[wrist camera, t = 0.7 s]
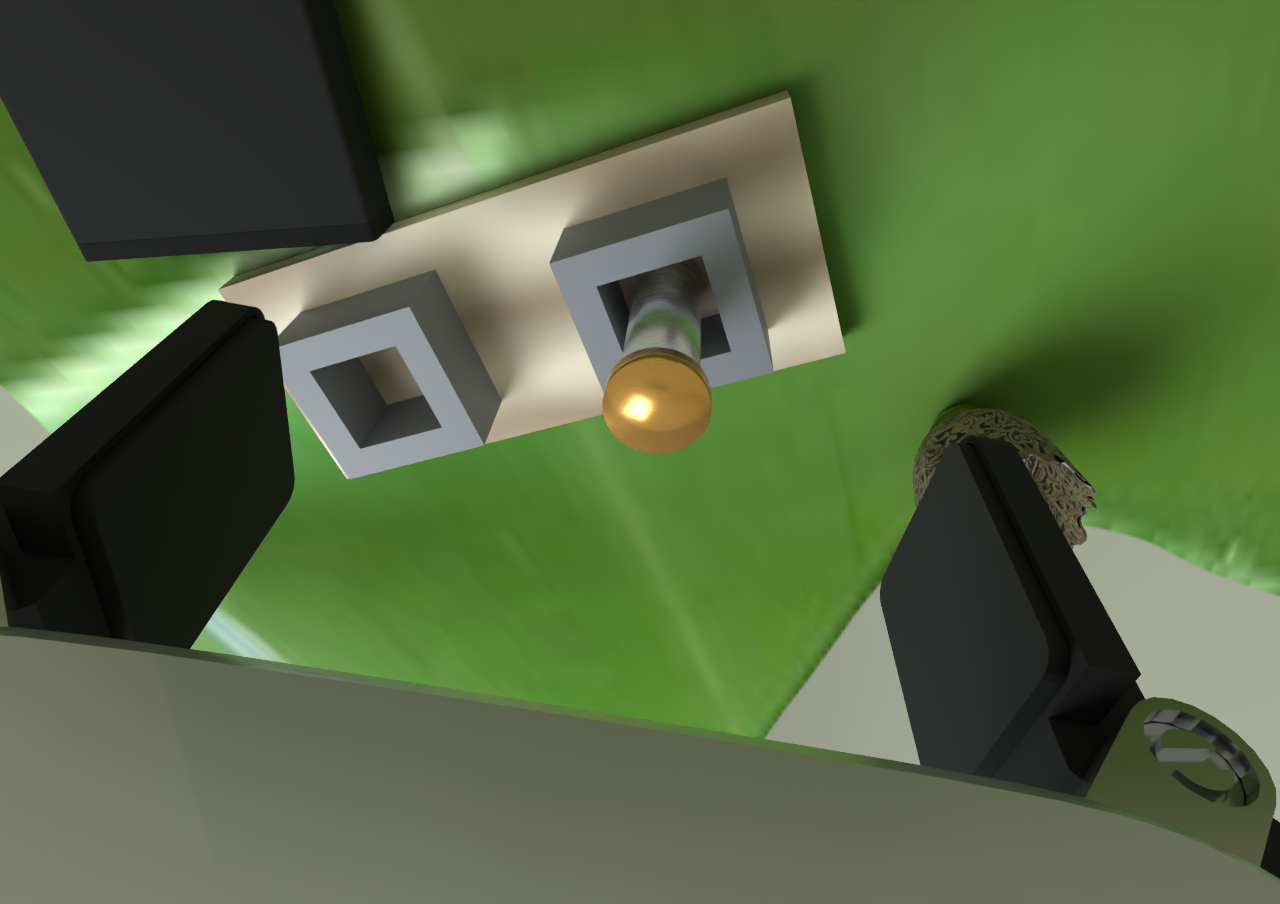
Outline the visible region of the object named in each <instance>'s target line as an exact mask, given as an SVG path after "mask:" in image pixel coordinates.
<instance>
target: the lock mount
mask: <svg viewBox="0 0 1280 904" xmlns="http://www.w3.org/2000/svg"><path fill="white" fill-rule="evenodd" d="M698 256H702V258H703V261H704V264H705V268H706V271H707V274H708V278H709V281H710V284H711V287H712V291H713V294H714V297H715V300H716V304H717V307H718V310H719V314H715V315H712V316H708V317H705V318H701V356H700V366H701V368H702V369H703V370H704V372H705V373H706V375H707V377H708V380H709V382H710V386H711V388H713V387H717V386H721V385H725V384H729V383H733V382H737V381H741V380H745V379H749V378H753V377H757V376H761V375H765V374H768V373H772V372H774V370H773V362H772V355H771V348H770V341H769V333H768V328H767V324H766V321H765V317H764V313H763V310H762V306H761V302H760V299H759V295H758V291H757V288H756V284H755V280H754V277H753V273H752V269H751V266H750V262H749V258H748V255H747V251H746V247H745V244H744V240H743V236H742V233H741V229H740V225H739V222H738V218H737V214H736V211H735V207H734V203H733V200H732V196H731V192H730V189H729V185H728V181H727V178H726V177H725V178H722V179H719V180H716V181H713V182H710V183H707V184H703V185H700V186H697V187H694V188H691V189H688V190H684V191H681V192H678V193H675V194H672V195H669V196H666V197H662V198H659V199H656V200H653V201H650V202H647V203H644V204H640V205H637V206H634V207H631V208H628V209H625V210H621V211H618V212H615V213H612V214H609V215H606V216H603V217H599V218H596V219H593V220H590V221H587V222H584V223H581V224H577V225H574V226H571V227H568V228H565V229H563V231H562V234H561V236H560V239H559V241H558V243H557V246H556V248H555V251H554V253H553V255H552V258H551V260H550V263H549V265H550V267H551V270H552V272H553V274H554V277H555V279H556V281H557V284H558V286H559V289H560V291H561V293H562V296H563V298H564V300H565V303H566V305H567V307H568V310H569V312H570V315H571V317H572V319H573V322H574V324H575V326H576V329H577V331H578V334H579V336H580V338H581V341H582V343H583V345H584V348H585V350H586V353H587V355H588V357H589V360H590V362H591V364H592V367H593V369H594V371H595V374H596V376H597V379H598V381H599V383H600V386H601V388H602V390H603V393H604V391H605V386H606V382H607V378H608V376H609V374H610V372H611V370H612V369H613V367H614V366H615V365H616V364H617V363H618V362H619V361H620V360H621V359H622V355H623V350H624V344H625V338H626V333H627V327H628V322H629V316H630V312H629V309H628V306H627V304H626V301H625V298H624V296H623V293H622V290H621V288H620V285H619V282H618V280H620V279H624V278H627V277H631V276H634V275H637V274H641V273H644V272H647V271H651V270H654V269H658V268H661V267H664V266H668V265H671V264H675V263H678V262H681V261H685V260H688V259H692V258H695V257H698Z"/></svg>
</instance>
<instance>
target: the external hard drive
mask: <svg viewBox="0 0 1280 904" xmlns="http://www.w3.org/2000/svg"><path fill="white" fill-rule="evenodd" d="M0 97H1V99H2V101H3V103H4V105H5V107H6V109H7V111H8V113H9V114H10V116H11V118H12V120H13V122H14V124H15V126H16V128H17V130H18V132H19V134H20V135H21V137H22V139H23V141H24V143H25V145H26V147H27V149H28V151H29V153H30V155H31V157H32V158H33V160H34V162H35V164H36V166H37V168H38V170H39V172H40V174H41V176H42V178H43V179H44V181H45V183H46V185H47V187H48V189H49V191H50V193H51V195H52V197H53V199H54V201H55V202H56V204H57V206H58V208H59V210H60V212H61V214H62V216H63V218H64V220H65V222H66V223H67V225H68V227H69V229H70V231H71V233H72V235H73V237H74V239H75V241H76V243H77V245H78V246H79V248H80V250H81V252H82V254H83V256H84V258H85V260H86V261H103V260H118V259H132V258H147V257H161V256H176V255H190V254H204V253H219V252H233V251H248V250H262V249H277V248H291V247H306V246H320V245H335V244H349V243H364V242H373V241H376V240H378V239H379V238H380V237H381V235H382V234H383V233H384V232H385V231H386V230H387V229H388V228H389V227H390V226H391V225H392V224H393V222H394V218H393V214H392V211H391V207H390V204H389V200H388V196H387V193H386V189H385V185H384V182H383V178H382V175H381V171H380V168H379V164H378V160H377V157H376V153H375V150H374V146H373V142H372V139H371V135H370V132H369V128H368V124H367V121H366V117H365V114H364V110H363V106H362V103H361V99H360V96H359V92H358V88H357V85H356V81H355V78H354V74H353V70H352V67H351V63H350V60H349V56H348V52H347V49H346V45H345V42H344V38H343V34H342V31H341V27H340V24H339V20H338V17H337V13H336V9H335V6H334V2H333V0H0Z"/></svg>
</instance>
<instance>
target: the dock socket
mask: <svg viewBox="0 0 1280 904" xmlns="http://www.w3.org/2000/svg"><path fill="white" fill-rule="evenodd" d="M278 339H279V348H280V356H281V365H282V373H283V382H284V383H285V385H286V386H287V388H288V389H289V391H290V392H291V394H292V395H293V397H294V398H295V400H296V401H297V403H298V404H299V405H300V407H301V408H302V410H303V411H304V413H305V414H306V416H307V417H308V419H309V420H310V422H311V423H312V425H313V426H314V428H315V429H316V431H317V432H318V433H319V435H320V436H321V438H322V439H323V441H324V442H325V444H326V445H327V447H328V448H329V450H330V451H331V453H332V454H333V456H334V457H335V459H336V460H337V461H338V463H339V464H340V466H341V467H342V469H343V470H344V472H345V473H346V475H347V476H348V478H349V479H353V478H357V477H361V476H365V475H369V474H373V473H377V472H381V471H384V470H388V469H392V468H396V467H400V466H404V465H408V464H412V463H416V462H420V461H424V460H428V459H432V458H436V457H440V456H444V455H448V454H452V453H456V452H460V451H464V450H468V449H472V448H476V447H479V446H483V445H485V442H486V440H487V437H488V435H489V432H490V430H491V427H492V425H493V422H494V420H495V417H496V415H497V412H498V410H499V407H500V405H501V402H502V400H501V398H500V396H499V394H498V392H497V390H496V388H495V386H494V384H493V382H492V380H491V378H490V376H489V374H488V372H487V370H486V368H485V366H484V365H483V363H482V361H481V359H480V357H479V355H478V353H477V351H476V349H475V347H474V345H473V343H472V341H471V339H470V337H469V335H468V333H467V331H466V329H465V327H464V325H463V323H462V321H461V319H460V317H459V315H458V313H457V311H456V309H455V308H454V306H453V304H452V302H451V300H450V298H449V296H448V294H447V292H446V290H445V288H444V286H443V284H442V282H441V280H440V278H439V276H438V274H437V272H436V270H433V271H429V272H426V273H423V274H420V275H417V276H414V277H411V278H407V279H404V280H401V281H398V282H395V283H392V284H388V285H385V286H382V287H379V288H376V289H373V290H370V291H366V292H363V293H360V294H357V295H354V296H351V297H348V298H344V299H341V300H338V301H335V302H332V303H329V304H325V305H322V306H319V307H316V308H313V309H310V310H307V311H303V312H300V313H299V314H298V315H297V316H296V317H295V318H294V320H293V321H292V322H291V323H290V324H289V325H288V326H287V327H286V328H285V329H284V330H283V331H282V332H281V333H280V334H279V335H278ZM393 346H396V347H397V349H398V351H399V353H400V354H401V356H402V358H403V360H404V361H405V363H406V365H407V367H408V368H409V370H410V372H411V374H412V375H413V377H414V379H415V381H416V382H417V384H418V386H419V388H420V389H421V391H422V393H423V395H421V396H418V397H414V398H410V399H407V400H403V401H400V402H396V403H392V404H389V405H387V404H386V402H385V401H384V399H383V397H382V396H381V394H380V392H379V391H378V389H377V387H376V386H375V384H374V382H373V381H372V379H371V378H370V376H369V374H368V373H367V371H366V369H365V368H364V366H363V364H362V363H361V361H360V359H359V358H358V357H360V356H363V355H366V354H370V353H373V352H377V351H380V350H383V349H387V348H390V347H393Z"/></svg>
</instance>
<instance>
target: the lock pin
mask: <svg viewBox="0 0 1280 904" xmlns="http://www.w3.org/2000/svg"><path fill="white" fill-rule="evenodd" d="M700 356H701V273H700V270H699V268H698V266H697V264H696V263H695V262H694V260H693V259H688V260H685V261H681V262H678V263H675V264H671V265H668V266H664V267H661V268H658V269H654V270H651V271H647V272H644V273H641V274H637V277H636V282H635V288H634V294H633V299H632V305H631V310H630V316H629V322H628V327H627V333H626V338H625V344H624V350H623V355H622V359H621V360H620V361H619V362H618V363H617V364H616V365H615V366H614V367H613V369H612V370H611V372H610V374H609V376H608V378H607V382H606V386H605V391H604V396H603V403H602V410H603V416H604V419H605V422H606V424H607V426H608V428H609V429H610V431H611V432H612V433H613V434H614V435H615V437H616V438H618V439H619V440H620V441H621V442H623V443H624V444H626V445H627V446H629V447H631V448H633V449H636V450H638V451H642V452H646V453H653V454H663V453H671V452H675V451H678V450H681V449H683V448H686V447H687V446H689V445H691V444H692V443H694V442H695V441H696V440H697V439H698V438H699V437H700V436H701V435H702V434H703V433H704V431H705V430H706V428H707V426H708V424H709V421H710V417H711V386H710V382H709V380H708V377H707V375H706V373H705V372H704V370H703V369H702V368H701V366H700Z"/></svg>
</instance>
